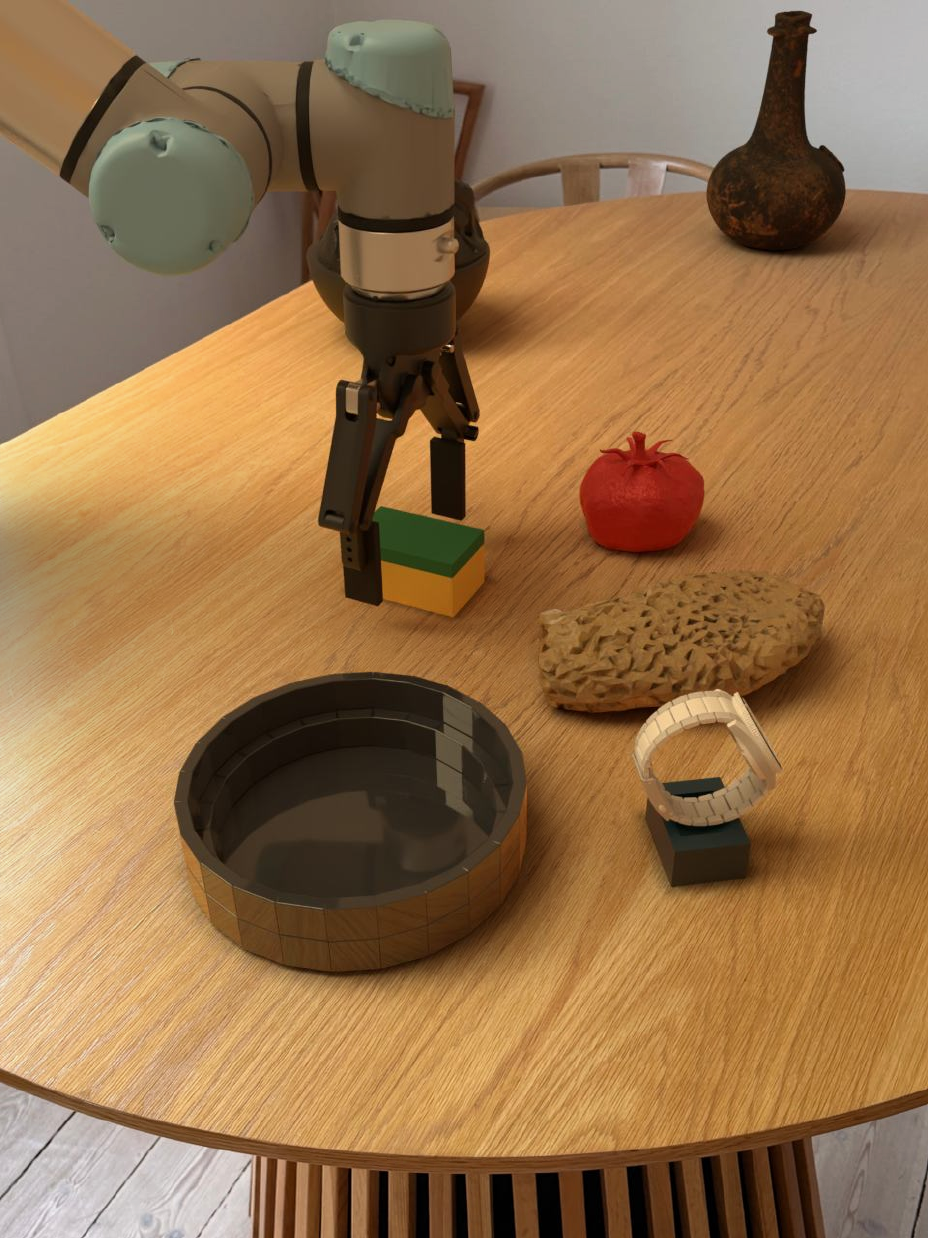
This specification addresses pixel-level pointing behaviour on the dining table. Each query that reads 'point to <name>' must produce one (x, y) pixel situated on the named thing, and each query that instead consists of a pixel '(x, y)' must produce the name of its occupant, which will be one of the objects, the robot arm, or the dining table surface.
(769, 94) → the glass bottle
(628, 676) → the sponge
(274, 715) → the bowl
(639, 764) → the watch
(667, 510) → the red tomato
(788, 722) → the dining table surface
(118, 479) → the dining table surface
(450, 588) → the dish sponge
